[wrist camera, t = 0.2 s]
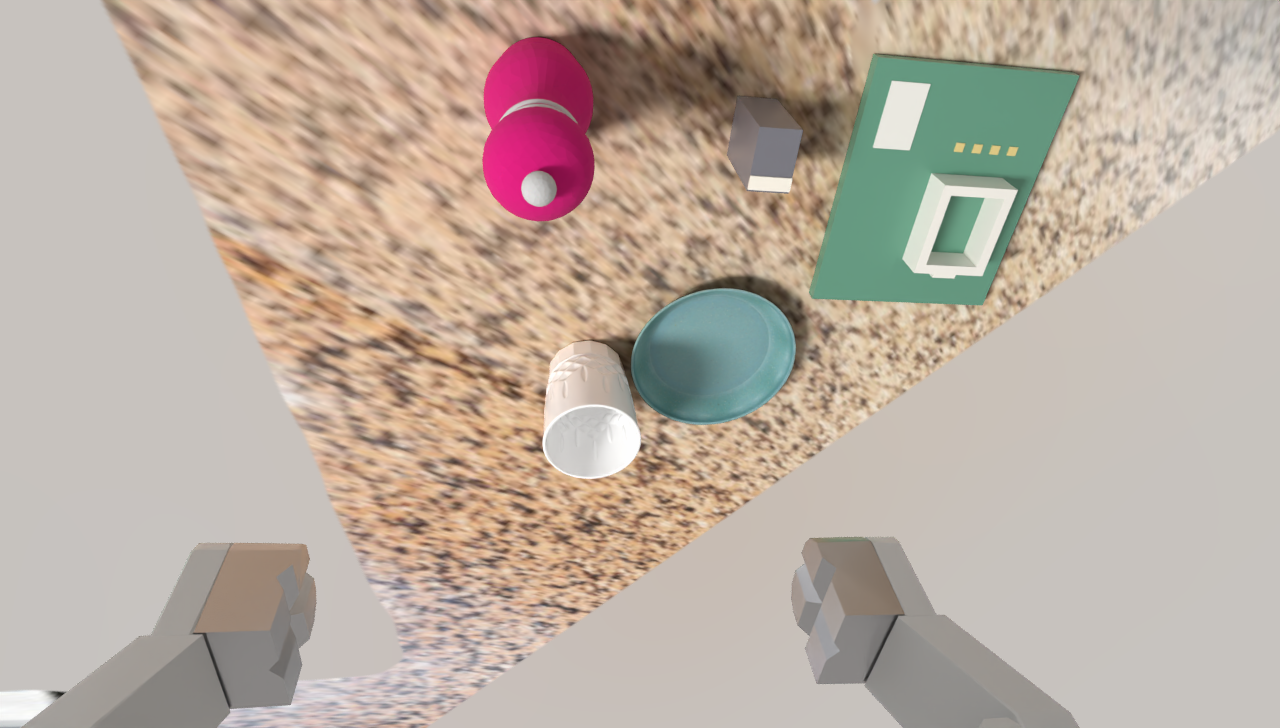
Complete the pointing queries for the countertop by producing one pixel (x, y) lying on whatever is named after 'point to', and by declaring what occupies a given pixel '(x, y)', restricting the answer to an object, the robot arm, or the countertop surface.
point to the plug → (764, 144)
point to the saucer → (713, 356)
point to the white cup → (589, 412)
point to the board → (936, 178)
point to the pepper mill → (538, 130)
